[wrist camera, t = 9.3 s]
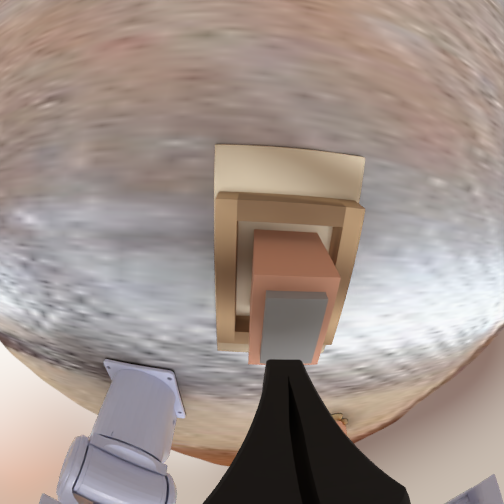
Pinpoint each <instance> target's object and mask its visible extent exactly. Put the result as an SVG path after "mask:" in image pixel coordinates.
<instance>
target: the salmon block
mask: <svg viewBox="0 0 504 504" xmlns="http://www.w3.org/2000/svg"><path fill="white" fill-rule="evenodd" d="M340 280H341V277H340V275H339V273H338V271H337V269H336V267H335V265H334V263H333V261H332V259H331V258H330V256H329V254H328V252H327V250H326V248H325V246H324V244H323V242H322V241H321V239H320V237H319V235H318V233H314V232H297V231H279V230H260V229H254V242H253V261H252V279H251V297H250V324H249V362H248V364H259V365H266V361H267V360H269V359H283V360H301V361H302V362H303V365H312V364H317V362H318V359H319V356H320V353H321V350H322V346H323V343H324V340H325V336H326V333H327V329H328V326H329V322H330V319H331V315H332V311H333V308H334V304H335V300H336V296H337V292H338V288H339V284H340Z"/></svg>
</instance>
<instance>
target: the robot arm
mask: <svg viewBox="0 0 504 504" xmlns="http://www.w3.org/2000/svg"><path fill="white" fill-rule="evenodd" d="M103 363H104V365H105V368H106V370H107V372H108V374H109V376H110V378H111V380H112V383H111V385H110V387H109V390H108V392H107V394H106V397H105V399H104V402H103V404H102V406H101V409H100V411H99V414H98V417H97V419H96V421H95V424H94V427H93V429H92V432H91V435H90V436H89V437H88V438H87V437H86V436H84V435H81V436H78V437H75V438H74V440H73V442H72V444H71V446H70V448H69V450H68V452H67V455H66V458H65V460H64V463H63V466H62V469H61V473H60V477H59V482H58V485H57V492H56V493H57V495H58V500H59V501H57V500H55V499H54V498H52V497H50V496H48V495H46V494H42V496H41V499H40V502H39V504H175V503H176V497H177V490H176V486H175V483H174V481H173V478H172V477H171V475H170V474H168V473H166V472H167V465H166V464H163V463H164V462H165V461H166V460H167V459H168V457H169V454H170V450H171V445H172V440H173V435H174V430H175V425H176V420H177V417H178V418H185V415H186V414H185V411H184V408H183V404H182V401H181V397H180V393H179V390H178V386H177V382H176V378H175V374H174V373H173V372H172V371H170V370H164V369H157V368H151V367H145V366H139V365H134V364H128V363H123V362H118V361H114V360H109V359H105V360H104V362H103ZM203 504H411V503H410V499H409V496H408V493H407V491H406V488H405V487H404V486H402V485H401V484H400V483H398V482H397V481H395V480H394V479H392V478H391V477H389V476H388V475H387V474H386V473H384V472H383V471H382V470H381V469H379V468H378V467H377V466H376V465H375V464H374V463H372V462H371V461H370V460H369V459H368V458H367V457H366V456H365V455H364V454H363V453H362V452H361V451H360V450H359V449H358V448H357V447H356V446H355V445H354V444H353V442H352V441H351V440H350V439H349V438H348V437H347V435H346V434H345V433H344V432H343V430H342V429H341V428H340V427H339V425H338V424H337V423H336V421H335V420H334V418H333V417H332V415H331V414H330V412H329V411H328V409H327V408H326V406H325V405H324V403H323V401H322V400H321V398H320V396H319V395H318V393H317V391H316V389H315V387H314V385H313V384H312V382H311V380H310V378H309V376H308V374H307V371H306V369H305V367H304V365H303V362H302V361H301V360H283V359H269V360H267V361H266V367H265V374H264V381H263V390H262V396H261V399H260V403H259V406H258V409H257V411H256V414H255V417H254V419H253V422H252V424H251V427H250V429H249V431H248V433H247V436H246V438H245V440H244V442H243V444H242V446H241V448H240V449H239V451H238V453H237V455H236V457H235V458H234V460H233V462H232V464H231V465H230V467H229V468H228V470H227V471H226V473H225V474H224V476H223V477H222V479H221V480H220V482H219V483H218V485H217V486H216V488H215V489H214V490H213V491H212V493H211V494H210V495H209V496H208V498H207V499H206V500H205V501H204V503H203ZM445 504H503V500H502V497H501V493H500V490H499V486H498V483H497V480H496V477H495V475H494V474H493V475H491V476H490V477H488V478H487V479H485V480H484V481H482V482H481V483H479V484H478V485H476V486H474V487H473V488H470V489H468V490H467V491H465V492H463V493H462V494H460V495H458V496H456V497H455V498H453V499H451V500H449V502H447V503H445Z"/></svg>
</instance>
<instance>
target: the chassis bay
mask: <svg viewBox="0 0 504 504" xmlns="http://www.w3.org/2000/svg"><path fill="white" fill-rule="evenodd" d="M364 164H365V158H364V157H361V156H355V155H348V154H341V153H334V152H327V151H318V150H309V149H299V148H288V147H275V146H259V145H235V144H216V145H215V165H214V262H215V301H216V327H217V348H218V351H233V352H249V324H250V297H251V279H252V261H253V242H254V229H260V230H279V231H297V232H314V233H318V235H319V237H320V239H321V241H322V242H323V244H324V246H325V248H326V250H327V252H328V254H329V256H330V258H331V259H332V261H333V263H334V265H335V267H336V269H337V271H338V273H339V275H340V277H341V280H340V284H339V288H338V292H337V296H336V300H335V304H334V308H333V311H332V315H331V319H330V322H329V326H328V329H327V333H326V336H325V340H324V343H323V346H322V350H321V353H323V351H324V348H325V345H331V344H332V341H333V338H334V335H335V332H336V329H337V325H338V322H339V319H340V315H341V312H342V308H343V305H344V301H345V298H346V294H347V290H348V286H349V282H350V279H351V275H352V270H353V266H354V262H355V258H356V253H357V249H358V244H359V240H360V235H361V230H362V225H363V219H364V214H365V208H363V207H362V206H361V205H360V204H359V199H360V193H361V186H362V180H363V172H364Z"/></svg>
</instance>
